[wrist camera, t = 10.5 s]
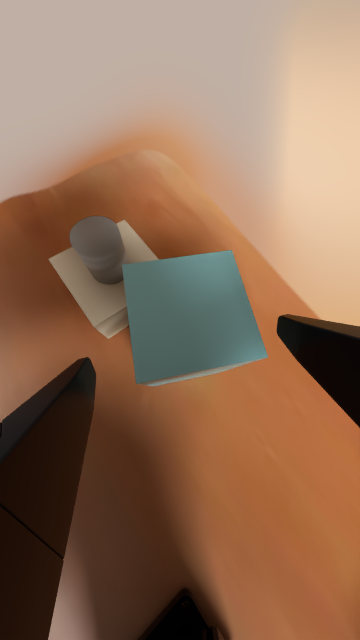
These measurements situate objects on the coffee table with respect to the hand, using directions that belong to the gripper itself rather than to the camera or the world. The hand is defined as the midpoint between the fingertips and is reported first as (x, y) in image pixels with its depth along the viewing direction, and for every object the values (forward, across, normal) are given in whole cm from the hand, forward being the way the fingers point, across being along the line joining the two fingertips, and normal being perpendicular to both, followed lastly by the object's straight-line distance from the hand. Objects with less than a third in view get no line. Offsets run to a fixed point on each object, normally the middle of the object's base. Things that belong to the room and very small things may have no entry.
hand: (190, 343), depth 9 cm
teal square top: (+7, 0, +5) cm, 8 cm away
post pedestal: (+11, +4, 0) cm, 12 cm away
